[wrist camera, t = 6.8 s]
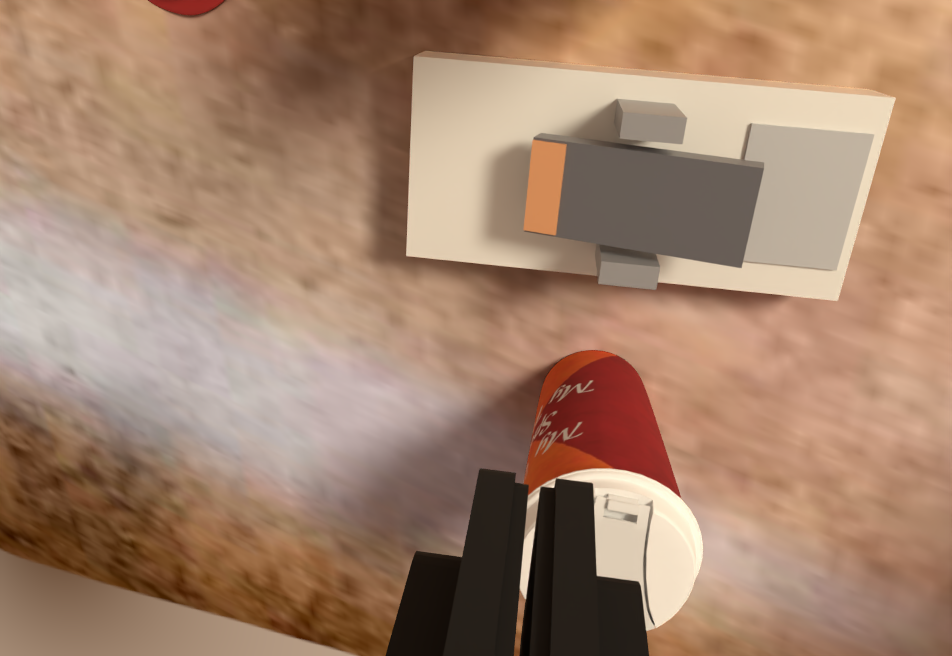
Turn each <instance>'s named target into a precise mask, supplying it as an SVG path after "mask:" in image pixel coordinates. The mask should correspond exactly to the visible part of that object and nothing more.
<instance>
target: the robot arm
mask: <svg viewBox="0 0 952 656" xmlns="http://www.w3.org/2000/svg"><path fill="white" fill-rule="evenodd" d="M515 475H516V473H511V472H503V471H496V470H488V469H480V470H479V474H478V479H477V484H476V490H475V495H474V500H473V505H472V510H471V515H470V520H469V525H468V530H467V535H466V541H465V546H464V551H463V556H462V557H456V556H449V555H442V554H434V553H427V552H420V551H416V553H415V555H414V558H413V561H412V564H411V567H410V571H409V574H408V578H407V582H406V585H405V589H404V592H403V596H402V599H401V603H400V606H399V610H398V614H397V617H396V621H395V624H394V628H393V631H392V635H391V638H390V642H389V645H388V649H387V653H386V656H514V645H515V634H516V623H517V612H518V601H519V590H520V579H521V568H522V557H523V546H524V535H525V524H526V513H527V502H528V491H529V485H527V484H520V483H515ZM520 656H649V652H648V643H647V634H646V625H645V616H644V607H643V598H642V591H641V585H640V583H639V581H632V580H625V579H617V578H610V577H603V576H597V569H596V543H595V516H594V490H593V483H590V482H582V481H574V480H566V479H558V478H556V480H555V486H554V488H551V487H543V486H541V487H540V493H539V501H538V509H537V517H536V524H535V532H534V540H533V548H532V555H531V563H530V571H529V579H528V587H527V594H526V602H525V610H524V618H523V626H522V635H521V645H520Z"/></svg>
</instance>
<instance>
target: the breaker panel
mask: <svg viewBox="0 0 952 656" xmlns="http://www.w3.org/2000/svg"><path fill="white" fill-rule="evenodd" d="M894 102H895V97H892V96H889V95H886V94H883V93H880V92H877V91H874V90H871V89H864V88H853V87H841V86H829V85H818V84H806V83H795V82H783V81H771V80H760V79H748V78H736V77H725V76H713V75H702V74H690V73H678V72H667V71H655V70H644V69H632V68H620V67H609V66H597V65H585V64H574V63H562V62H551V61H539V60H527V59H516V58H504V57H493V56H481V55H469V54H458V53H446V52H434V51H424V52H421V53H419V54H417V55H415V56H414V60H413V86H412V113H411V140H410V167H409V194H408V221H407V248H406V256H411V257H420V258H430V259H440V260H449V261H459V262H468V263H478V264H488V265H497V266H507V267H517V268H526V269H536V270H545V271H555V272H565V273H574V274H584V275H593V276H597V278H598V284H604V285H613V286H623V287H632V288H642V289H651V290H656V288H657V283H658V282H661V283H670V284H680V285H690V286H699V287H709V288H718V289H728V290H738V291H747V292H757V293H766V294H776V295H786V296H795V297H805V298H814V299H824V300H834V301H838V298H839V295H840V291H841V288H842V284H843V281H844V277H845V274H846V270H847V267H848V263H849V260H850V256H851V253H852V249H853V246H854V242H855V239H856V235H857V232H858V228H859V225H860V221H861V218H862V214H863V211H864V207H865V204H866V200H867V197H868V193H869V190H870V186H871V183H872V179H873V175H874V172H875V168H876V165H877V161H878V158H879V154H880V151H881V147H882V144H883V140H884V137H885V133H886V130H887V126H888V123H889V119H890V116H891V112H892V109H893V105H894ZM540 133H546V134H554V135H561V136H569V137H576V138H584V139H591V140H599V141H606V142H614V143H621V144H629V145H636V146H644V147H652V148H659V149H667V150H674V151H682V152H689V153H697V154H704V155H712V156H719V157H727V158H734V159H742V160H749V161H757V162H764V171H763V176H762V180H761V185H760V189H759V193H758V198H757V202H756V207H755V211H754V215H753V220H752V224H751V229H750V233H749V238H748V242H747V246H746V251H745V255H744V260H743V264H742V268H737V267H731V266H725V265H719V264H713V263H707V262H701V261H695V260H689V259H683V258H677V257H672V256H666V255H660V254H654V253H648V252H642V251H636V250H630V249H624V248H618V247H612V246H607V245H601V244H595V243H589V242H583V241H577V240H571V239H565V238H559V237H553V236H547V235H542V234H536V233H530V232H524V230H523V229H524V219H525V209H526V199H527V189H528V179H529V169H530V159H531V150H532V140H533V138H534V137H535V136H536V135H538V134H540Z"/></svg>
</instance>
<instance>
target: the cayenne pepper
mask: <svg viewBox="0 0 952 656" xmlns="http://www.w3.org/2000/svg"><path fill="white" fill-rule="evenodd" d="M148 1H150V2H151V3H153V4H154V5H156V6H158V7H160V8H163V9H165V10H167V11H171V12H174V13H177V14H182V15H198V14H202V13H205V12H208V11H210V10H212V9H213V8H215V7H217V6H218V5H219V4H221V3H222V2H223V1H225V0H148Z"/></svg>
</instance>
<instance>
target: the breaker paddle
mask: <svg viewBox="0 0 952 656" xmlns="http://www.w3.org/2000/svg"><path fill="white" fill-rule="evenodd" d="M763 171H764V162H757V161H749V160H742V159H734V158H727V157H719V156H712V155H704V154H697V153H689V152H682V151H674V150H667V149H659V148H652V147H644V146H636V145H629V144H621V143H614V142H606V141H599V140H591V139H584V138H576V137H569V136H561V135H554V134H546V133H540V134H538V135H536V136H535V137H534V138H533V140H532V150H531V159H530V169H529V179H528V189H527V199H526V209H525V219H524V229H523V230H524V232H530V233H536V234H542V235H547V236H553V237H559V238H565V239H571V240H577V241H583V242H589V243H595V244H601V245H607V246H612V247H618V248H624V249H630V250H636V251H642V252H648V253H654V254H660V255H666V256H672V257H677V258H683V259H689V260H695V261H701V262H707V263H713V264H719V265H725V266H731V267H737V268H742V264H743V260H744V255H745V251H746V246H747V242H748V238H749V233H750V229H751V224H752V220H753V215H754V211H755V207H756V202H757V198H758V193H759V189H760V185H761V180H762V176H763Z"/></svg>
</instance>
